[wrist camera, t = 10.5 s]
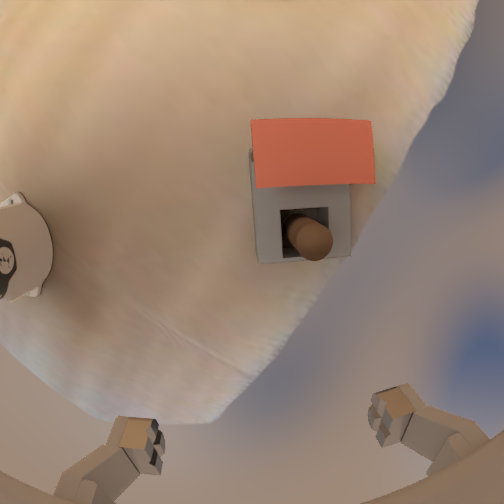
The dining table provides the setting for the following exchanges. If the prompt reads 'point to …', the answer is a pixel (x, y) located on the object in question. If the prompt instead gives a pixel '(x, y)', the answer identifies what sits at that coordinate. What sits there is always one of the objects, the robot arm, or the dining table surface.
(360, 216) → the dining table surface
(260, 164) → the socket stand
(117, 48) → the dining table surface
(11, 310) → the dining table surface
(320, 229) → the walnut peg
